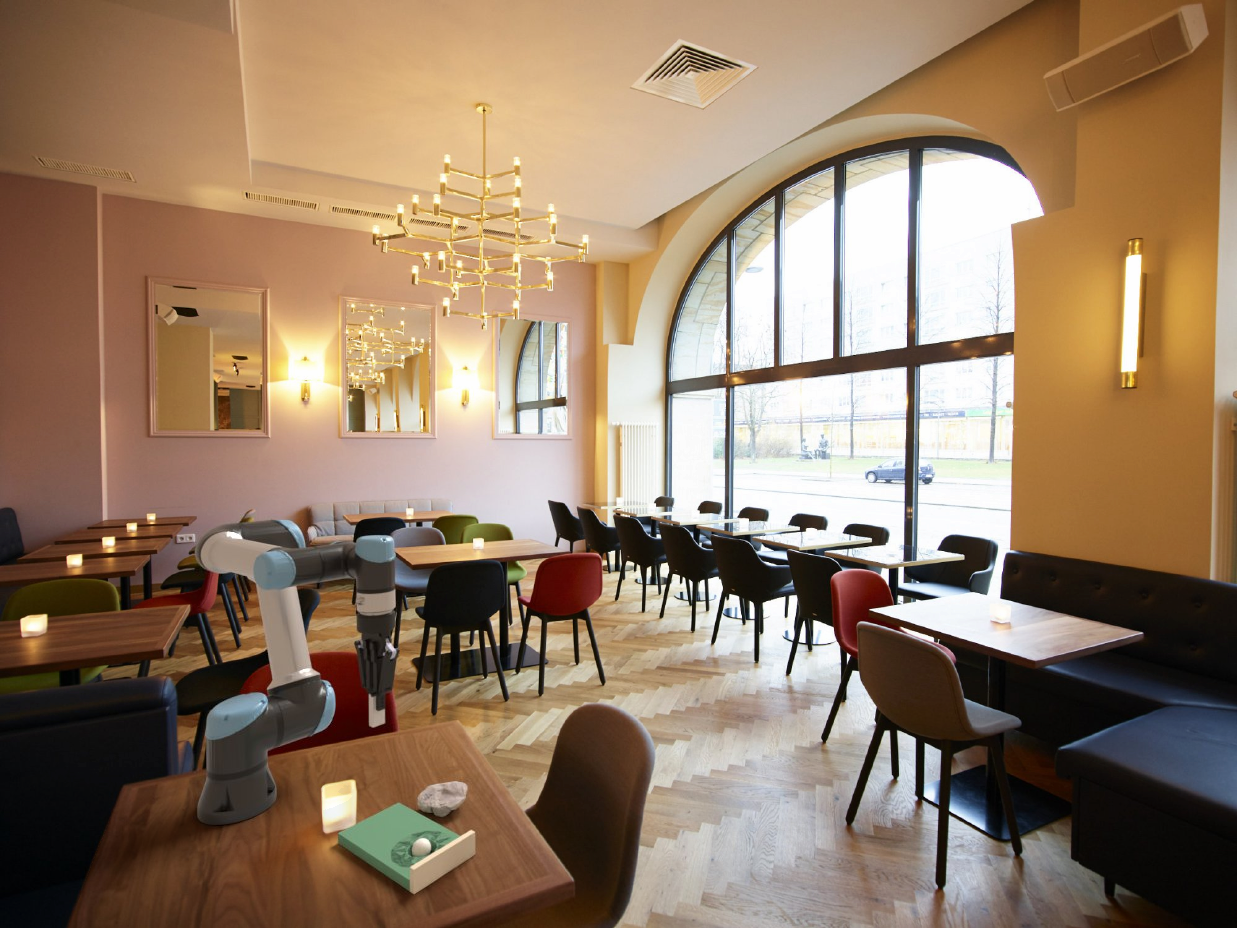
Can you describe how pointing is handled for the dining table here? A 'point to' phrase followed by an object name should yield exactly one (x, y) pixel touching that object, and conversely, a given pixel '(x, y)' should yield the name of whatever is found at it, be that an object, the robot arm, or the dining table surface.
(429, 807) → the fossil
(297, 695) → the robot arm
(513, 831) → the dining table surface
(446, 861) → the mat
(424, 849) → the ball
